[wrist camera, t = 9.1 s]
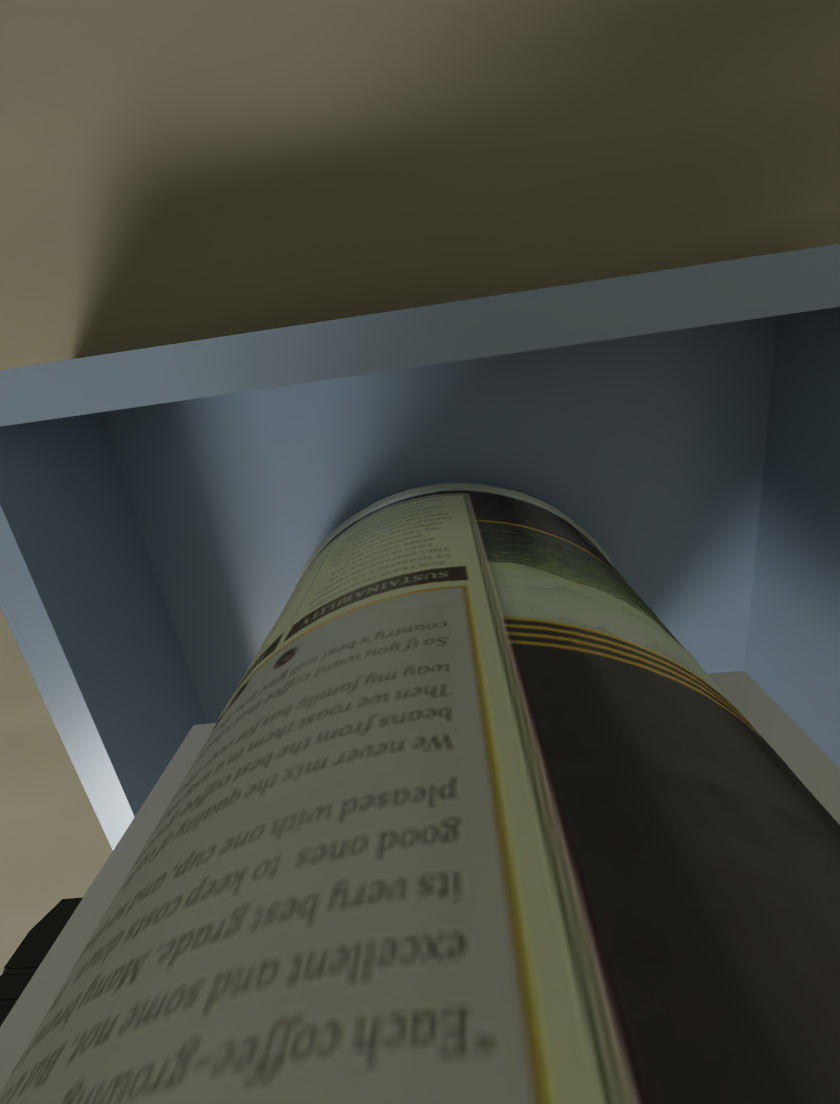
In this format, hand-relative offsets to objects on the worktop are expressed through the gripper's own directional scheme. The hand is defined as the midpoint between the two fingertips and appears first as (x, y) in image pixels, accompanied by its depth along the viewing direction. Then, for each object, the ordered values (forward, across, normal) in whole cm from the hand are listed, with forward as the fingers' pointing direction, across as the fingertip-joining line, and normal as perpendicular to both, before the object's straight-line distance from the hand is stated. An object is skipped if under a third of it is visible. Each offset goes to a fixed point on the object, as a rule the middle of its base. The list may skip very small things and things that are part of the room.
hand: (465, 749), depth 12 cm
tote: (+6, 0, -4) cm, 7 cm away
